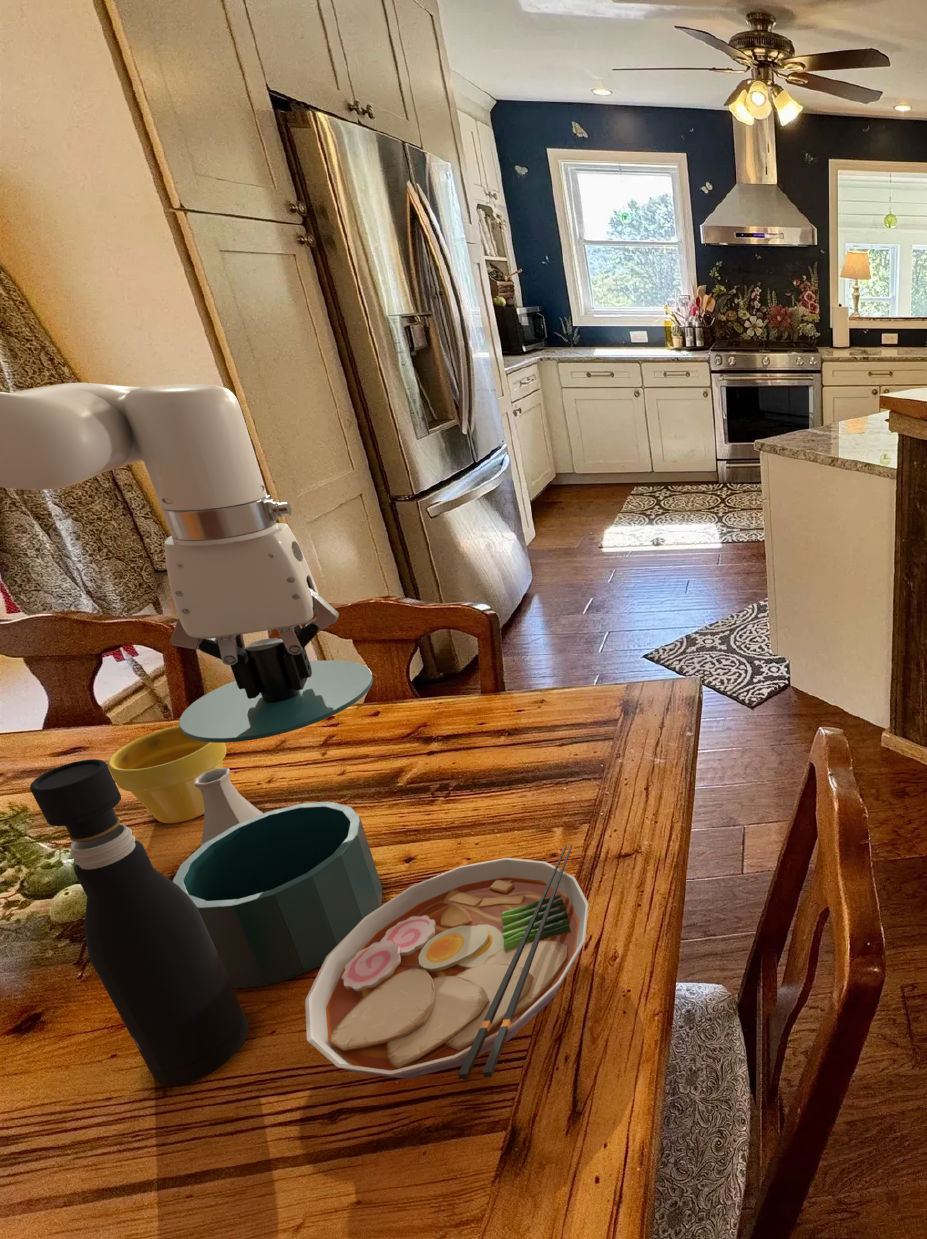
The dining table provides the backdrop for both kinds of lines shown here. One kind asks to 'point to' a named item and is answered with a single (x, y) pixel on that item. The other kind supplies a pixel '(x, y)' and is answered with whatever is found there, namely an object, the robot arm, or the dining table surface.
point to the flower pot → (166, 772)
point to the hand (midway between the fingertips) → (278, 686)
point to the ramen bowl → (448, 969)
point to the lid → (274, 698)
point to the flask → (222, 803)
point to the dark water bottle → (143, 933)
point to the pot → (282, 889)
